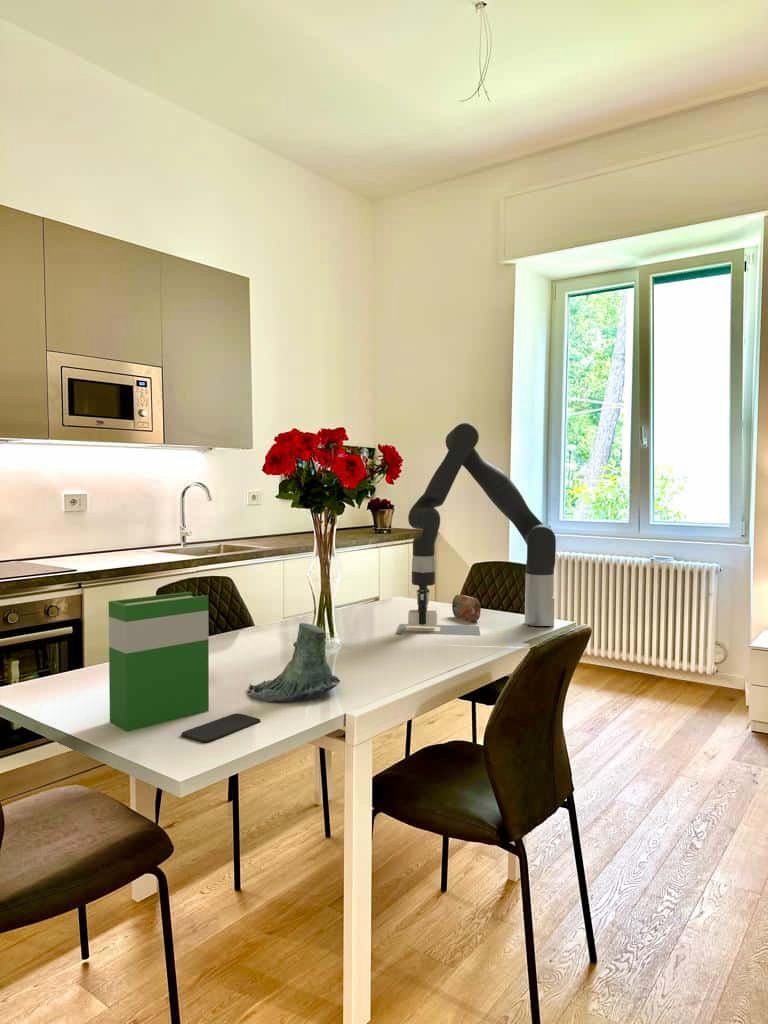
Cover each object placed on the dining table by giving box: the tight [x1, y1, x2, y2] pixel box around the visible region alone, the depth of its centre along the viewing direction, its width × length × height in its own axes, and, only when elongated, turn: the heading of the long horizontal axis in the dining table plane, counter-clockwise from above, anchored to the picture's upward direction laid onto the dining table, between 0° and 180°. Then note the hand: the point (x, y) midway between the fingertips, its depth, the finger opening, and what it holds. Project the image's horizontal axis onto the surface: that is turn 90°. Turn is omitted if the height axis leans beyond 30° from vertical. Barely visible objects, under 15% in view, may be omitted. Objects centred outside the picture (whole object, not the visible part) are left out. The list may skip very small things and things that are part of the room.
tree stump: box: [247, 622, 341, 704], centre depth 162 cm, size 18×20×18 cm
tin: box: [451, 594, 482, 623], centre depth 246 cm, size 15×3×8 cm, turn 25°
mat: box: [395, 623, 481, 637], centre depth 228 cm, size 26×14×1 cm, turn 84°
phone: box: [180, 713, 261, 744], centre depth 138 cm, size 7×1×15 cm
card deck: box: [407, 609, 438, 626], centre depth 228 cm, size 5×9×4 cm, turn 84°
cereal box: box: [108, 591, 210, 733], centre depth 144 cm, size 18×7×24 cm, turn 135°
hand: (422, 622), depth 228 cm, fingers closed on card deck, 5 cm apart
